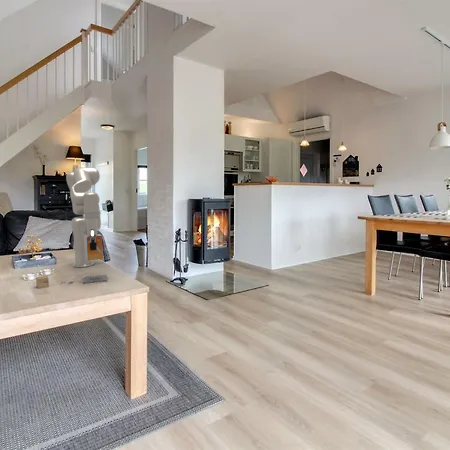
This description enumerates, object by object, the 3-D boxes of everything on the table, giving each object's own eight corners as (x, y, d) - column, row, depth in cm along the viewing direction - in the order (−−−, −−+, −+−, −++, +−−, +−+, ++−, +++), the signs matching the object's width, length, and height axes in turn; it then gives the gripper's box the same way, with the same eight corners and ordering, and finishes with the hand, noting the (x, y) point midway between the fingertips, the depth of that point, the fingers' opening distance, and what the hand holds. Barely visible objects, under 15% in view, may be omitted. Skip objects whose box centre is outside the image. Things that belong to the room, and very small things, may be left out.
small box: (87, 260, 181) (86, 236, 180) (85, 259, 187) (83, 235, 185) (103, 259, 186) (102, 235, 184) (100, 257, 191) (99, 233, 190)
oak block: (36, 286, 176) (36, 276, 176) (47, 284, 179) (46, 275, 178) (37, 288, 172) (37, 278, 171) (49, 286, 175) (48, 277, 174)
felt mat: (84, 278, 191) (83, 276, 191) (106, 275, 195) (106, 274, 195) (82, 283, 180) (82, 282, 180) (107, 281, 184) (107, 280, 184)
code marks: (61, 282, 182) (61, 282, 182) (73, 281, 184) (73, 281, 184) (60, 283, 180) (60, 283, 180) (73, 282, 182) (73, 282, 182)
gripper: (85, 215, 191) (86, 246, 193) (83, 217, 174) (85, 252, 176) (99, 214, 193) (101, 245, 195) (99, 216, 177) (100, 250, 179)
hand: (93, 248), depth 186 cm, fingers closed on small box, 7 cm apart
